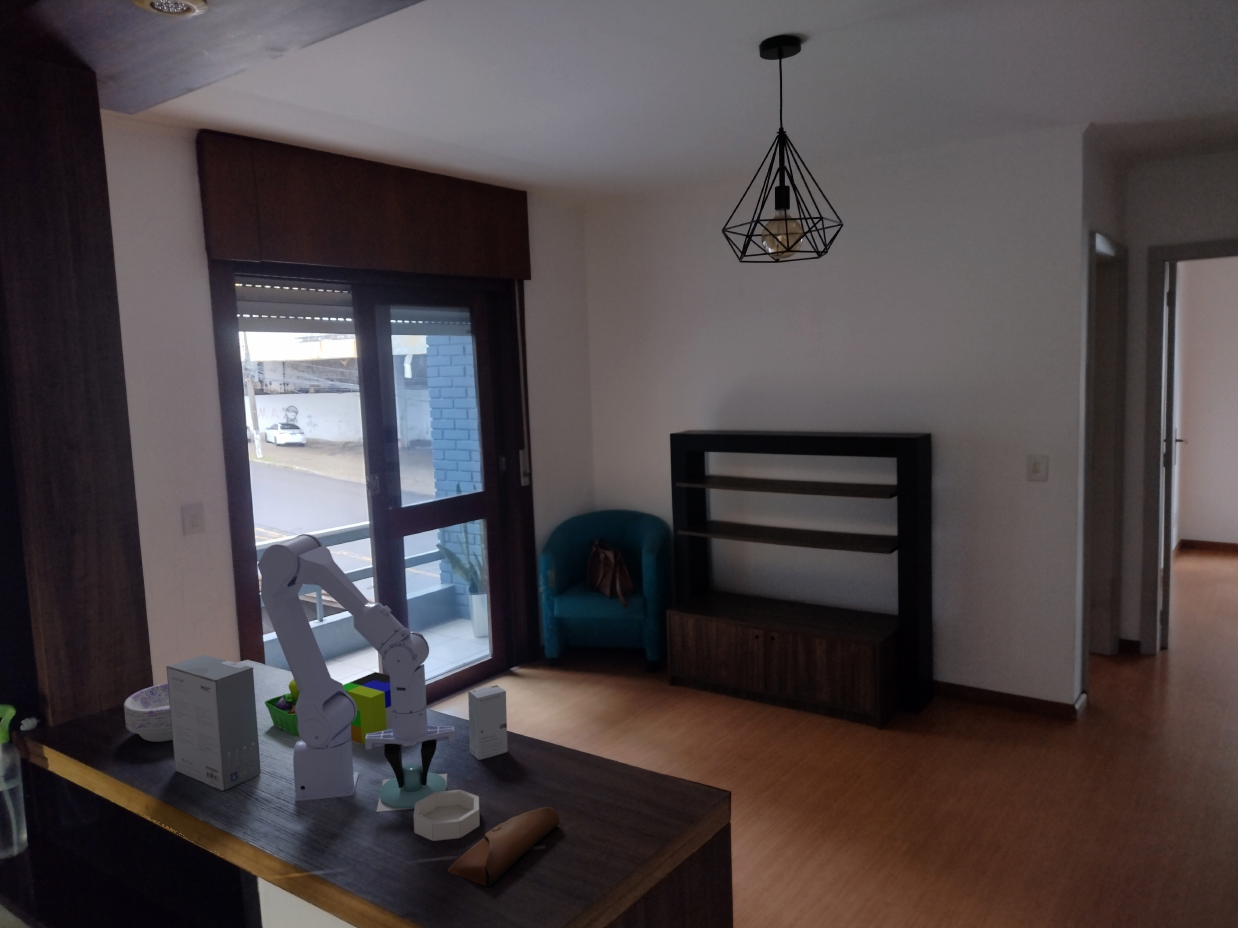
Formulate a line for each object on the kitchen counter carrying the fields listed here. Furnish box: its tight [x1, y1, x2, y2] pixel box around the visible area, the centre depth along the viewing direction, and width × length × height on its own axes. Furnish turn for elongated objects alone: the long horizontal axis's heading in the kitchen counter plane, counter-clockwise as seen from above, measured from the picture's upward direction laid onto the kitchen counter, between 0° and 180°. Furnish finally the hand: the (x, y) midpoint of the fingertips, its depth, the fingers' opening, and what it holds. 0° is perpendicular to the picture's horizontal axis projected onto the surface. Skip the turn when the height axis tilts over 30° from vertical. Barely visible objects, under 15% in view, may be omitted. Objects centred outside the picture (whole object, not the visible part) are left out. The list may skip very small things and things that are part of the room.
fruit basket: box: [264, 678, 299, 736], centre depth 175 cm, size 11×9×11 cm
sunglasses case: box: [447, 806, 560, 888], centre depth 129 cm, size 18×7×7 cm
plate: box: [376, 773, 448, 813], centre depth 146 cm, size 11×11×1 cm
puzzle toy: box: [343, 671, 393, 745], centre depth 171 cm, size 10×10×10 cm
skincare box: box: [467, 684, 508, 760], centre depth 160 cm, size 6×4×12 cm
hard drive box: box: [165, 654, 262, 792], centre depth 154 cm, size 16×8×20 cm, turn 57°
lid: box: [379, 763, 447, 810], centre depth 146 cm, size 11×11×4 cm
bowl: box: [413, 789, 481, 842], centre depth 136 cm, size 10×10×3 cm
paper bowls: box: [123, 682, 173, 743], centre depth 173 cm, size 15×15×8 cm
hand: (412, 783), depth 146 cm, fingers closed on lid, 3 cm apart
